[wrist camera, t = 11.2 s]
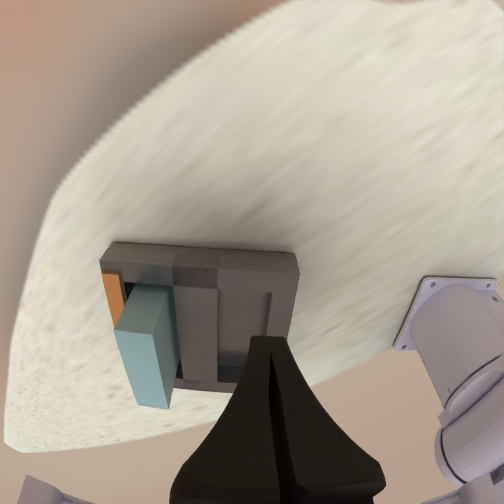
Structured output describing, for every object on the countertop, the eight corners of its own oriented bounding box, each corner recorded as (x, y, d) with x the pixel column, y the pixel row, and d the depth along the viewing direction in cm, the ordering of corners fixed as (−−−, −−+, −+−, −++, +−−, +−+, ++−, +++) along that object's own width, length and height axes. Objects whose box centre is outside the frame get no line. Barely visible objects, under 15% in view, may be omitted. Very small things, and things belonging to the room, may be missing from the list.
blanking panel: (171, 279, 21) (152, 334, 16) (179, 356, 25) (168, 409, 20) (139, 276, 21) (113, 329, 16) (152, 353, 25) (138, 404, 20)
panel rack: (295, 253, 21) (300, 276, 19) (273, 373, 27) (274, 397, 25) (112, 242, 20) (97, 262, 18) (137, 362, 27) (130, 384, 24)
